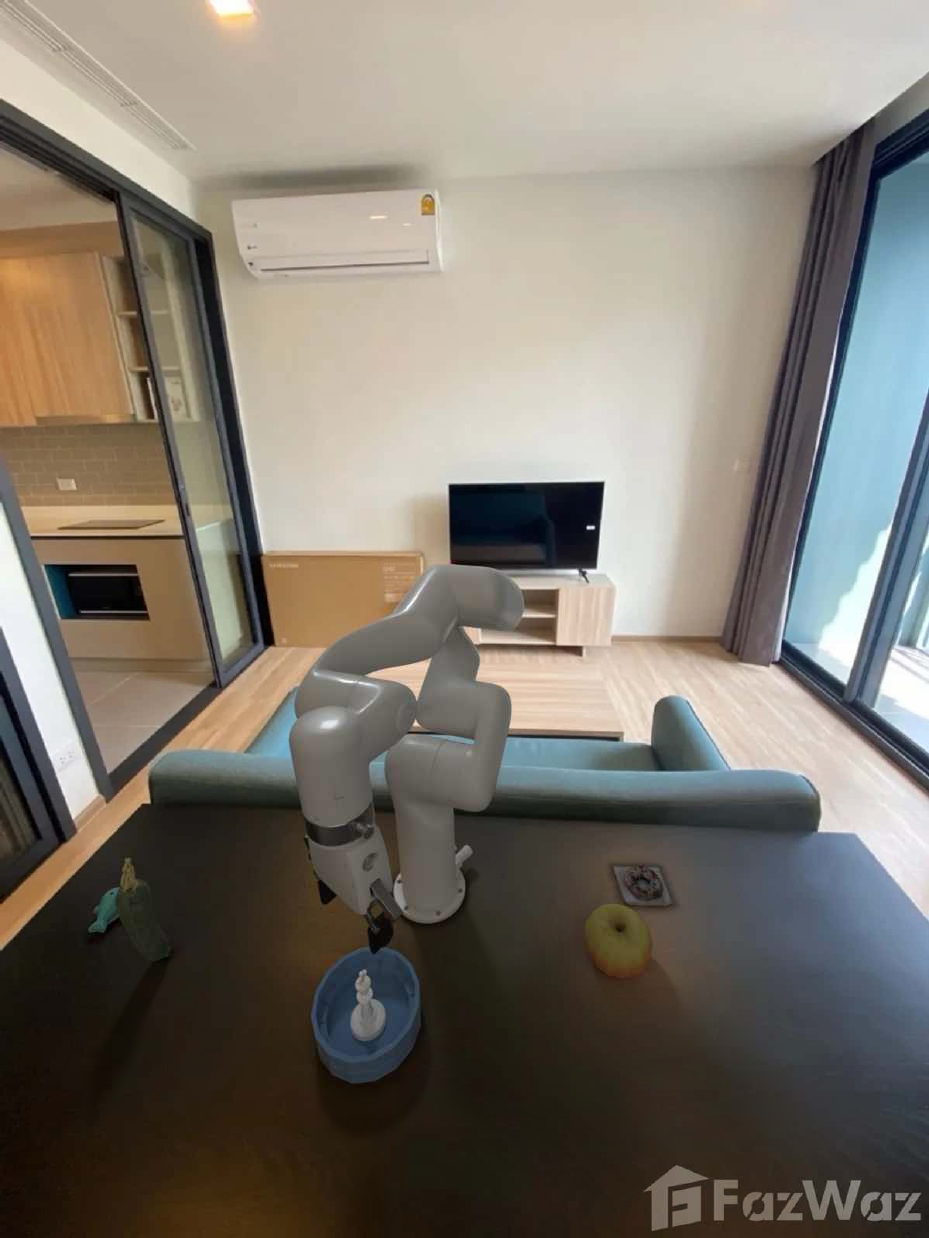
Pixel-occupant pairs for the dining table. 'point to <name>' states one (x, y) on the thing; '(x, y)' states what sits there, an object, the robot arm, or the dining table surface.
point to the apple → (618, 941)
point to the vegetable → (140, 915)
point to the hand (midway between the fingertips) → (356, 918)
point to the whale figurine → (105, 912)
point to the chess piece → (367, 1011)
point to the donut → (642, 886)
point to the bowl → (338, 1001)
